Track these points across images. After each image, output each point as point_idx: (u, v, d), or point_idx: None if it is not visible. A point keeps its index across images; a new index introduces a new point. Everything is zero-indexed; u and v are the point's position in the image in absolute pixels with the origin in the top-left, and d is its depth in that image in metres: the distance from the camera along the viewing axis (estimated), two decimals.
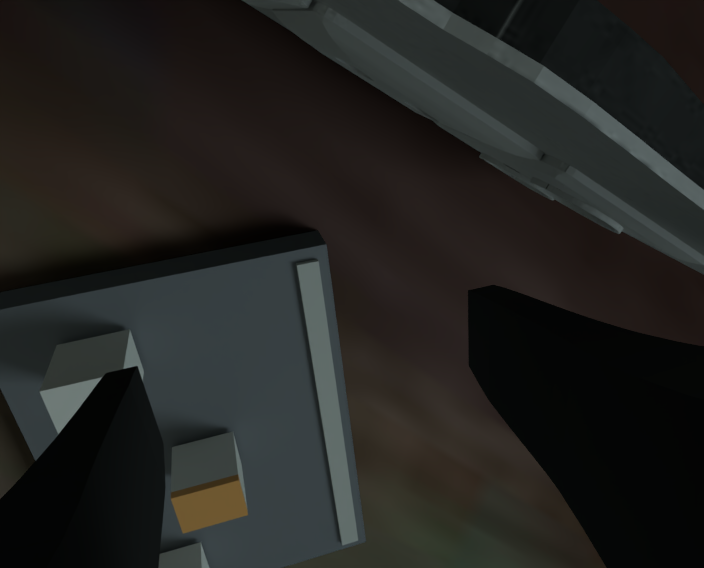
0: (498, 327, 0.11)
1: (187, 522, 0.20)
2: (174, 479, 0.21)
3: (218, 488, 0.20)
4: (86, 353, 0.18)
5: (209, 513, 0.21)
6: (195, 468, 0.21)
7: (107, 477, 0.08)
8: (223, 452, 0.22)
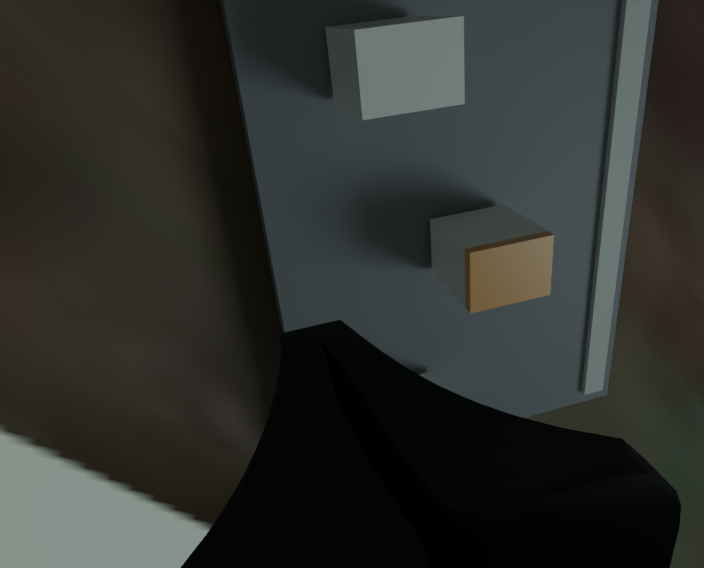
0: (329, 368, 0.11)
1: (479, 296, 0.15)
2: (459, 239, 0.15)
3: (528, 244, 0.15)
4: (381, 22, 0.13)
5: (507, 285, 0.15)
6: (481, 231, 0.16)
7: None
8: (507, 218, 0.16)
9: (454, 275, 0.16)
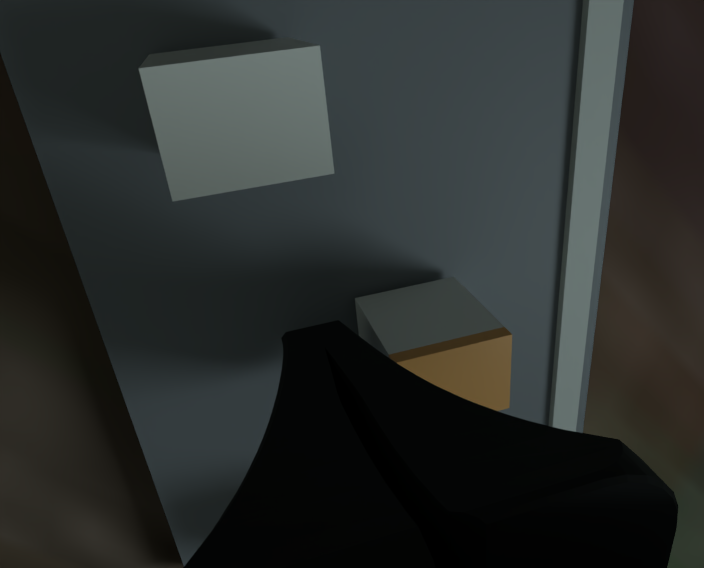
0: None
1: None
2: (384, 337, 0.11)
3: (475, 349, 0.11)
4: (217, 49, 0.09)
5: None
6: (416, 322, 0.12)
7: None
8: (455, 301, 0.12)
9: None
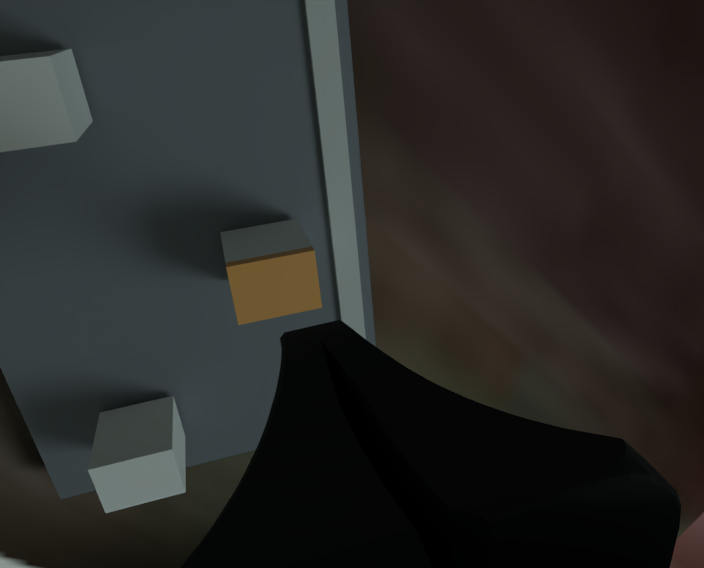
0: (329, 368, 0.11)
1: (244, 308, 0.16)
2: (228, 253, 0.16)
3: (287, 259, 0.15)
4: (4, 57, 0.13)
5: (273, 298, 0.16)
6: (254, 245, 0.16)
7: None
8: (288, 232, 0.17)
9: None
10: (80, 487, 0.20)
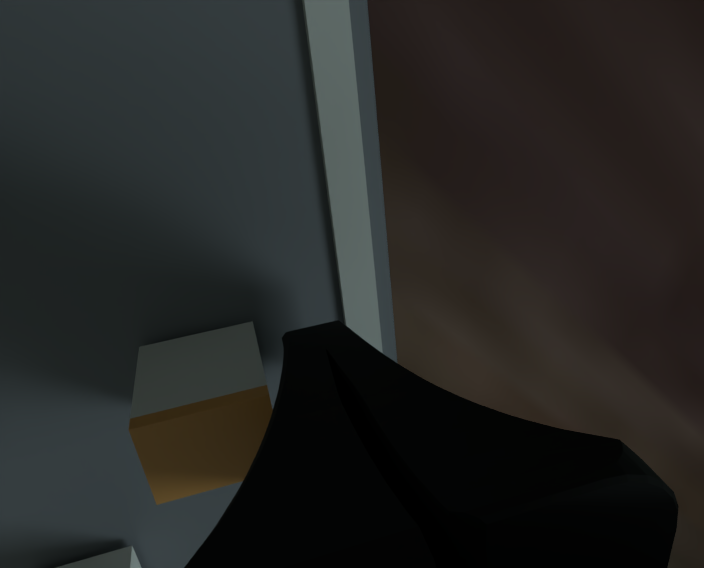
0: None
1: (165, 482, 0.10)
2: (139, 396, 0.10)
3: (227, 411, 0.10)
4: None
5: (209, 464, 0.10)
6: (182, 378, 0.11)
7: None
8: (236, 351, 0.11)
9: None
10: None
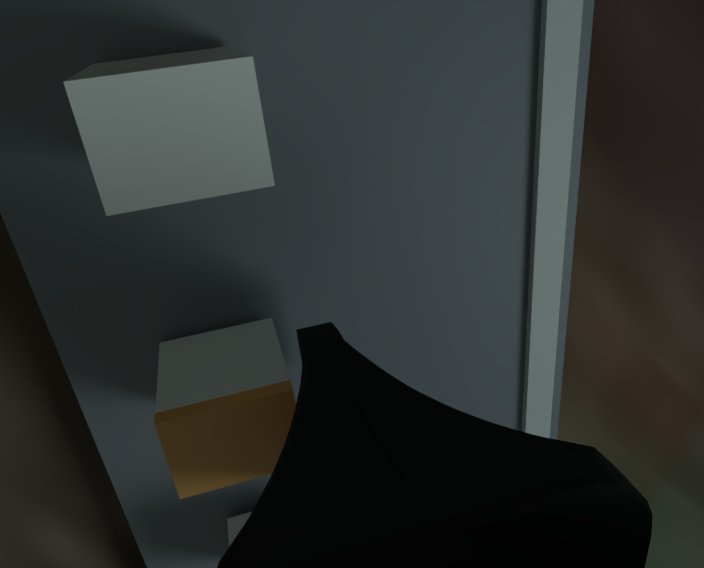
0: None
1: (189, 476, 0.10)
2: (163, 391, 0.10)
3: (251, 405, 0.10)
4: (158, 59, 0.09)
5: (233, 458, 0.10)
6: (204, 373, 0.11)
7: None
8: (257, 347, 0.11)
9: None
10: None
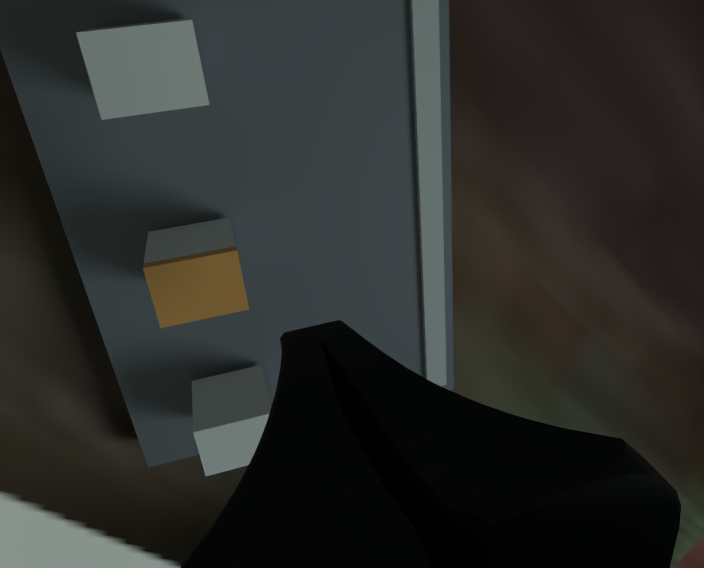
0: (329, 368, 0.11)
1: (166, 310, 0.15)
2: (149, 254, 0.15)
3: (208, 260, 0.15)
4: (136, 24, 0.13)
5: (196, 300, 0.15)
6: (178, 245, 0.15)
7: None
8: (216, 232, 0.16)
9: None
10: (167, 456, 0.21)
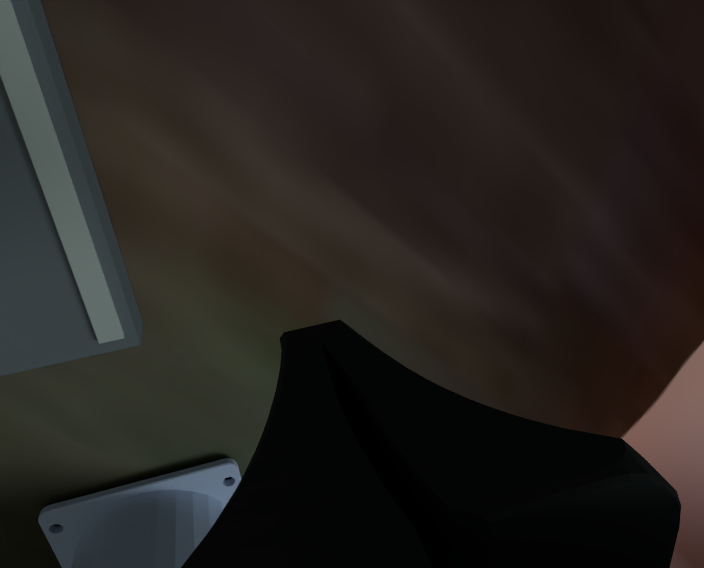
0: (329, 368, 0.11)
1: None
2: None
3: None
4: None
5: None
6: None
7: None
8: None
9: None
10: None
